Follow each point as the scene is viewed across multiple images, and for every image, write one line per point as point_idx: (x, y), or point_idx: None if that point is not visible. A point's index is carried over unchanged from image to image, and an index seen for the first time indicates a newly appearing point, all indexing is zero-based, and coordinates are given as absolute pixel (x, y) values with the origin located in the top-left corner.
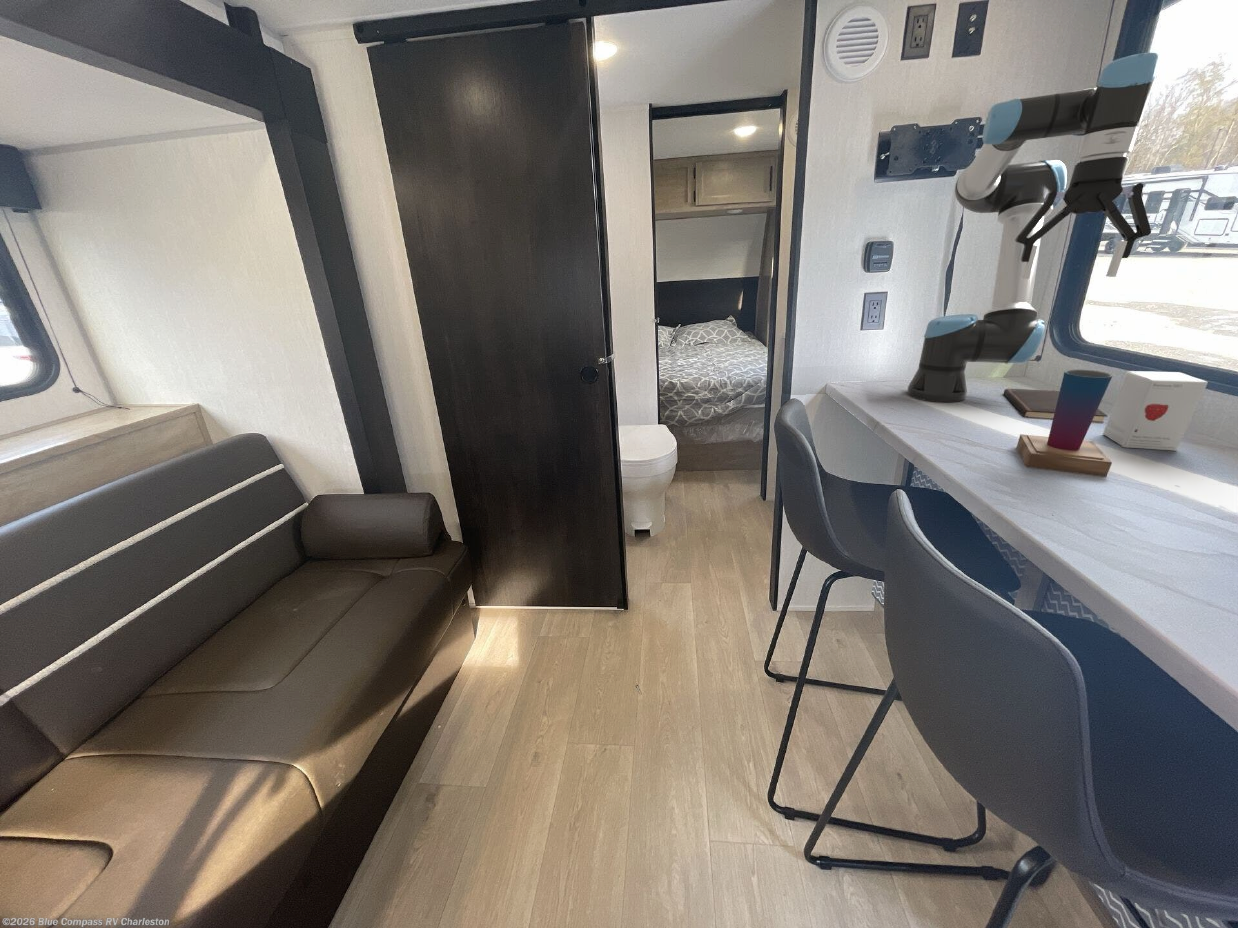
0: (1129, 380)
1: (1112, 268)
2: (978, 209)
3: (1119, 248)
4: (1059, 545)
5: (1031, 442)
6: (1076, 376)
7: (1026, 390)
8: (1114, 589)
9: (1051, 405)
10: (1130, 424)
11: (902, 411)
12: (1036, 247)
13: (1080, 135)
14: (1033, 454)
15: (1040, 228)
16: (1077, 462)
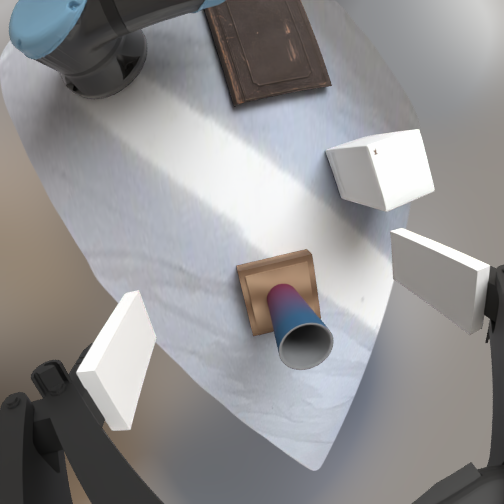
0: (365, 163)
1: (407, 280)
2: None
3: (452, 315)
4: (275, 437)
5: (251, 302)
6: (291, 367)
7: None
8: (295, 454)
9: (266, 59)
10: (352, 198)
11: (78, 181)
12: (128, 422)
13: None
14: (255, 335)
15: (68, 456)
16: None
